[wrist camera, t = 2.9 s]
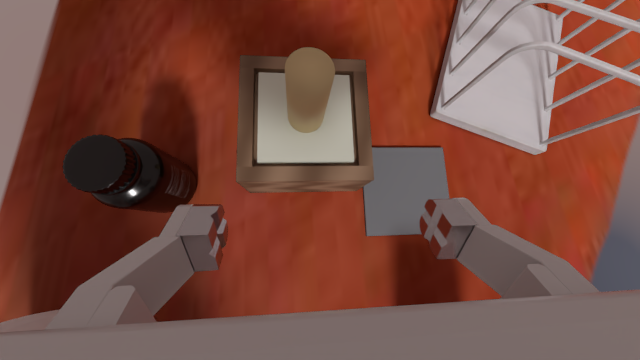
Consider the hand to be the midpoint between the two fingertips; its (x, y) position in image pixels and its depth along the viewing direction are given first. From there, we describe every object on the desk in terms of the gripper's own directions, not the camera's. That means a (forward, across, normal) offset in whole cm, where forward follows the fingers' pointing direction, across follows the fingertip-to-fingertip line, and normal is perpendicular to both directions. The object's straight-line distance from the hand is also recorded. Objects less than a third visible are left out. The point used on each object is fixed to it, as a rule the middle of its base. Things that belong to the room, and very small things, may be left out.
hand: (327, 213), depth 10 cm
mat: (+19, -14, +13) cm, 27 cm away
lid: (+19, 0, +3) cm, 19 cm away
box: (+24, 0, +8) cm, 25 cm away
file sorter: (+33, -31, 0) cm, 45 cm away
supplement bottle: (+20, +17, +13) cm, 29 cm away
